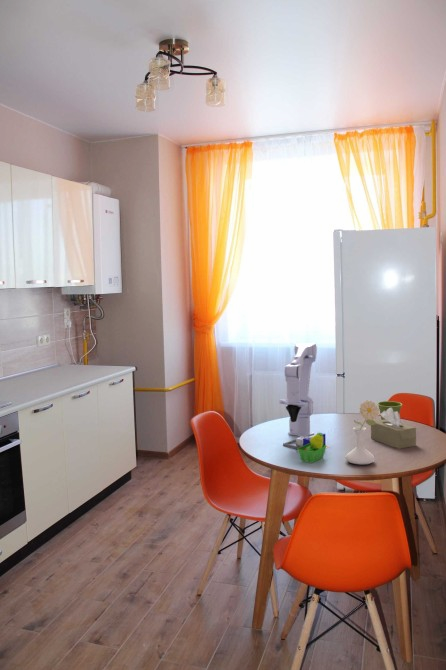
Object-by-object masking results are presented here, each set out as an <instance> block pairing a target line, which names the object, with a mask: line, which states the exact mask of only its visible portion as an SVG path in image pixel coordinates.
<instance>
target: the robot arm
mask: <svg viewBox="0 0 446 670" xmlns="http://www.w3.org/2000/svg"><path fill="white" fill-rule="evenodd" d="M317 348H318V347H317V344H316V343H315V342H312V343H310V342H308V343H307V342H304V343H303V342H300V343H299V342H296V343H295V345H294V354H295V355H294V356H292V358H291V359H290V362H289V364H287V365H285V367H284V377H285V382H286V399H285V398H279V405H286V406H285V410H286V411H287V412H288V414H289V422H288V423H289V431H288V435H292V436H298V437H302V436H309V437H310V436H311V435H314V434H315V432H313V431H311V416H312V415H313V414H314V400H313V398H311V397H310V396H309V391H310V389H309V388H310V381H311V380H310V379H311V373H312V372H311V370H312V366H313V363H315V362H316V360H317V353H318V352H317Z"/></svg>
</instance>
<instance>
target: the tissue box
mask: <svg viewBox="0 0 446 670" xmlns="http://www.w3.org/2000/svg"><path fill="white" fill-rule="evenodd" d="M379 415H380V417H381V416H382V417H383V418H385V419H384V420H381V419H378V420H374V421H375V422H376V424H374V425H370V439H371V440H374V441H376V442H378V443H382V444H385V445H387V446H391V447H392V448H395V449H399V450H400V449H404V448H410V447H416V446H417V428H416V427H415V426H412V425H408V424H405V423H402V422H401V416H400V413H398V412H397V411H396V412H393V409H392V407H391V408H389V409H388V410H387V411H383V412H382V413H381V414H380V413H379Z"/></svg>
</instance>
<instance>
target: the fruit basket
mask: <svg viewBox="0 0 446 670" xmlns="http://www.w3.org/2000/svg"><path fill="white" fill-rule="evenodd" d="M321 433H322V432H317V433H316V434H315V435H313V436H311V437H312V438H311V439H310V443H309V444H307V445H304V446H302V447H300V448H298V449H297V451H299V452H298V454H299V457H300V462H307V463H311V464H312V463H314V462H316V461H318V460H321V459H322V458H324V454H325V451H326V449H327V448H326V446H327V445H323V435H322V434H321ZM325 448H326V449H325Z"/></svg>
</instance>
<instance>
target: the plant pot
mask: <svg viewBox="0 0 446 670" xmlns="http://www.w3.org/2000/svg"><path fill="white" fill-rule="evenodd" d="M376 404H377V407H378V408H379V415H380V414H381V413H382V412H383V411H387V410H388V409H389V408H391V407H392V409H393V412H396V411H397V412H398V413H399V414H401V413H400V412H401V409H402V407H403V403H401V402H399V401H391V400H384V401H379V402H377V403H376ZM384 419H385V418H383V417H382V416H381V415H380V420H384Z"/></svg>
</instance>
